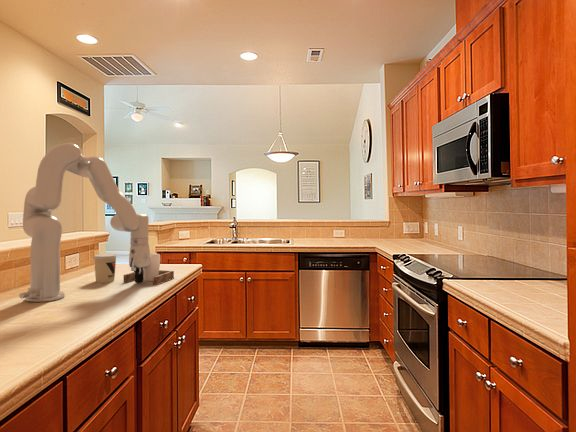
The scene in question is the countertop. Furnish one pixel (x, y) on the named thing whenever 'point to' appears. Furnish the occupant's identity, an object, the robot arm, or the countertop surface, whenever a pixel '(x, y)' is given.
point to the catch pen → (158, 279)
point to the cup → (152, 267)
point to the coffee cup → (105, 267)
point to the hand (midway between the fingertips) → (139, 282)
